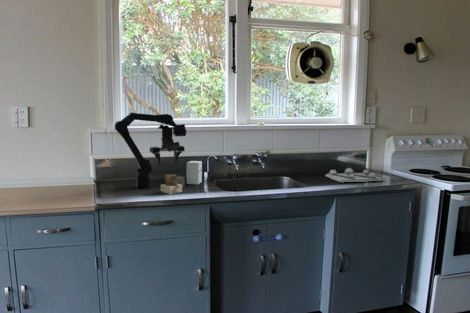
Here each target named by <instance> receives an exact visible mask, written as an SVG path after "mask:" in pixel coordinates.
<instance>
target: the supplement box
mask: <svg viewBox="0 0 470 313" xmlns="http://www.w3.org/2000/svg"><path fill="white" fill-rule="evenodd" d="M202 176H203V162H202V160H190V161H188V162H186V185H197V186H198V185H200V183H202V182H203V181H202V180H203V179H202V178H203V177H202Z"/></svg>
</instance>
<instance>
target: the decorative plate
mask: <svg viewBox="0 0 470 313" xmlns="http://www.w3.org/2000/svg"><path fill="white" fill-rule="evenodd" d="M324 176H325V177H326V178H328V179H330V180H331V181H332V180H333V181H334V180H335V182H336V181H337V182H336V183H339V182H340V183H339V184H345V183H344V182H364V183H368V182H367V181H384V182H385V181H386V180H385V178H383V177H379V176H377V174H376V173H374V172H369V170H362V172H355V171H354V170H353V169H352V168H351V167H347V168H345V171H344V172H343V173H338V171H336V169H333V170H332V169H331V170H330V171H328V173H326V174H325V175H324Z"/></svg>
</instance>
